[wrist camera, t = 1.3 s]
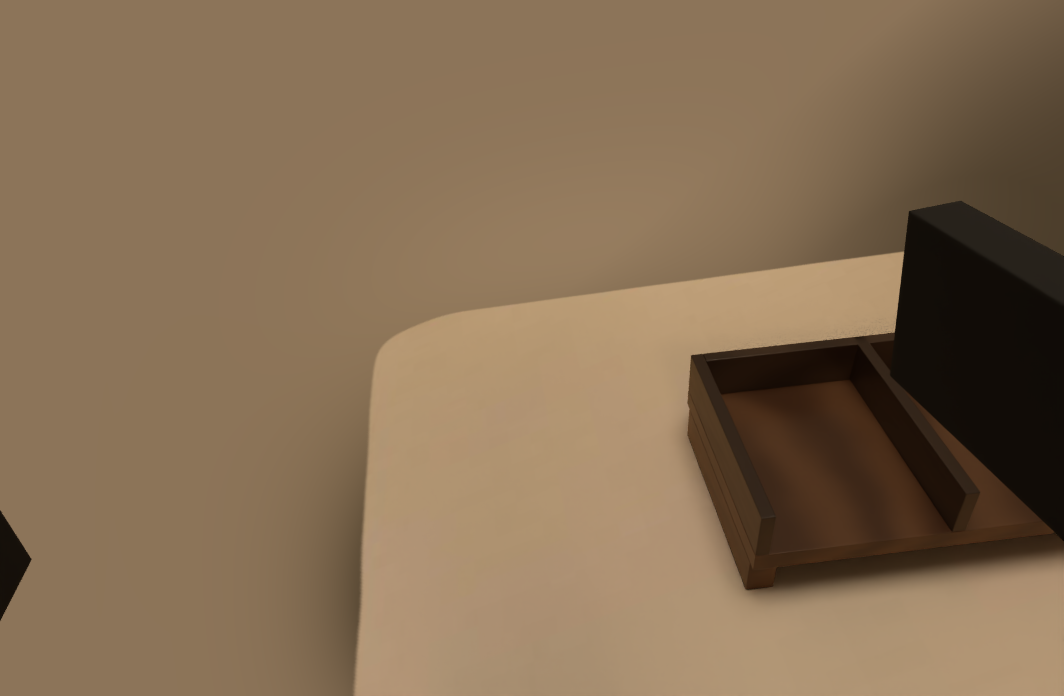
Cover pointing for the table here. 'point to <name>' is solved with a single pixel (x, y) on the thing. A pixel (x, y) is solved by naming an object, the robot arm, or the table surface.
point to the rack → (834, 459)
